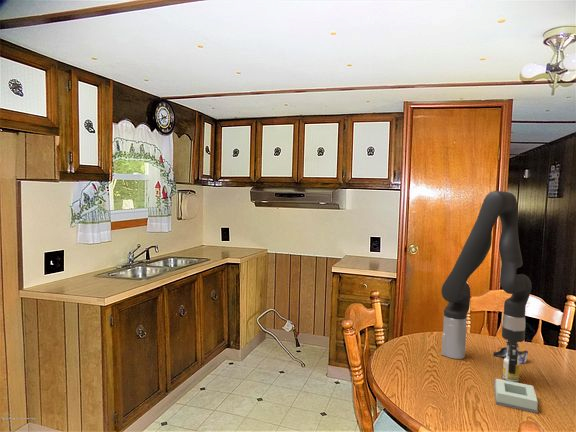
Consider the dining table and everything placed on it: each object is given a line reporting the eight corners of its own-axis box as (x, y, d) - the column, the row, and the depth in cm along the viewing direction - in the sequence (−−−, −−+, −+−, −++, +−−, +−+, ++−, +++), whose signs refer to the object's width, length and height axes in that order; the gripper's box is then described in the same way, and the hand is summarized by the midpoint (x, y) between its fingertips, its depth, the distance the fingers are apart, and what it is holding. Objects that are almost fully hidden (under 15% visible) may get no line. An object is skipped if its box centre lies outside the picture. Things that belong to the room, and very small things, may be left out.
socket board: (496, 404, 131) (496, 393, 131) (493, 382, 146) (494, 372, 146) (538, 413, 126) (538, 401, 126) (531, 389, 141) (531, 379, 141)
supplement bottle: (499, 376, 150) (500, 352, 150) (508, 374, 153) (509, 350, 152) (512, 383, 146) (514, 358, 145) (522, 380, 148) (523, 355, 147)
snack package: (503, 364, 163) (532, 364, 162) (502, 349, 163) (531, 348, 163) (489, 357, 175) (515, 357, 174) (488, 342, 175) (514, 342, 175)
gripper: (501, 319, 156) (499, 360, 157) (503, 330, 143) (501, 375, 144) (523, 322, 153) (520, 364, 154) (527, 334, 140) (524, 380, 141)
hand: (511, 369), depth 149 cm, fingers closed on supplement bottle, 5 cm apart
